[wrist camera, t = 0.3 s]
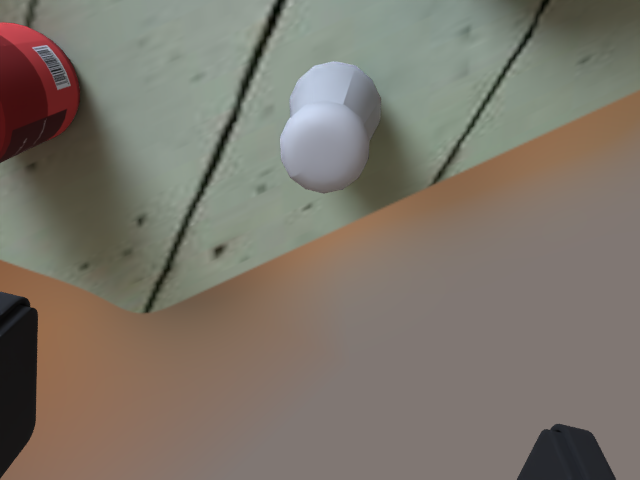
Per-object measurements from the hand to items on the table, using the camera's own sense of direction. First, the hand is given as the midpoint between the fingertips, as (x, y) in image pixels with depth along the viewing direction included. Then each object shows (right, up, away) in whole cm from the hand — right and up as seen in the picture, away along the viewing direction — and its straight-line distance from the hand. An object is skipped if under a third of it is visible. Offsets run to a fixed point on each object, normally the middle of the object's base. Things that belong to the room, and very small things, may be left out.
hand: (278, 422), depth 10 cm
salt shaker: (+2, +13, +28) cm, 30 cm away
